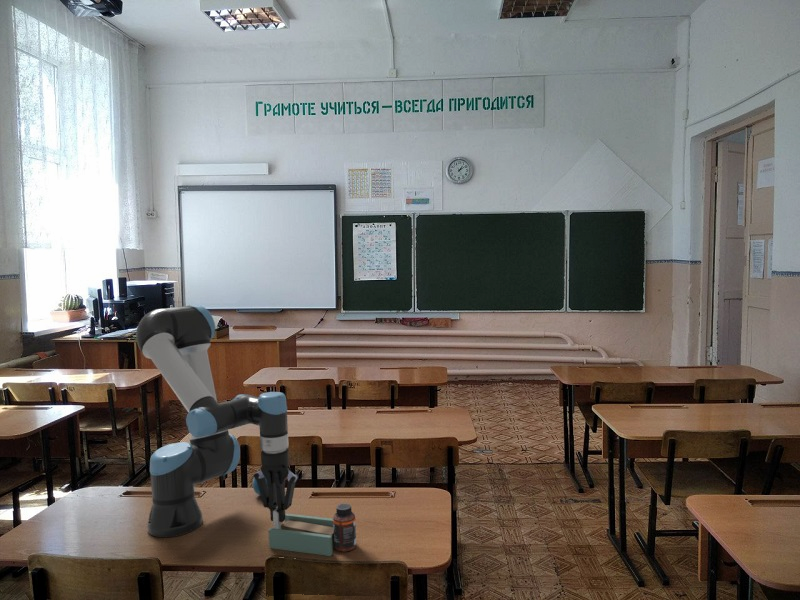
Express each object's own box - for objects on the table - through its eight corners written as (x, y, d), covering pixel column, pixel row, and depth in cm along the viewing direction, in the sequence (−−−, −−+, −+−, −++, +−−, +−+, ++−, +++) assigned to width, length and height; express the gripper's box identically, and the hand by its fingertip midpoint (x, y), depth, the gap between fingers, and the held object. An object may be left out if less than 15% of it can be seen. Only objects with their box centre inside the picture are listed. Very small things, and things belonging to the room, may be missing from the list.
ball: (281, 491, 199) (280, 467, 199) (271, 501, 192) (270, 476, 191) (259, 489, 201) (258, 466, 201) (248, 499, 193) (247, 475, 193)
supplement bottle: (361, 546, 161) (359, 505, 160) (345, 555, 156) (343, 513, 155) (345, 539, 165) (344, 499, 164) (329, 548, 160) (328, 507, 159)
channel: (269, 547, 161) (268, 530, 161) (287, 530, 171) (286, 513, 171) (330, 556, 156) (330, 537, 155) (345, 537, 166) (345, 520, 165)
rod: (281, 539, 166) (280, 525, 166) (289, 532, 169) (289, 519, 169) (331, 549, 159) (331, 534, 159) (339, 542, 163) (338, 528, 163)
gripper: (246, 452, 162) (250, 535, 164) (289, 455, 158) (293, 541, 160) (260, 443, 169) (264, 523, 171) (302, 446, 165) (305, 528, 167)
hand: (278, 532), depth 166 cm, fingers closed
